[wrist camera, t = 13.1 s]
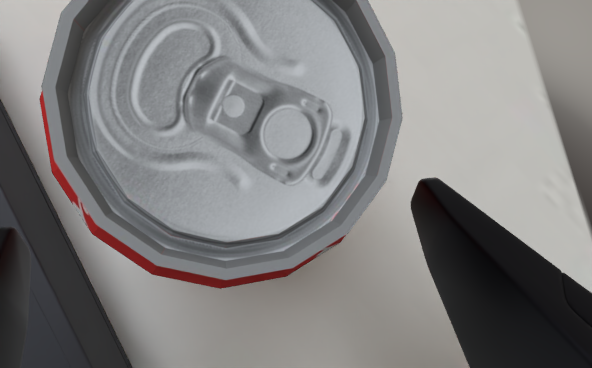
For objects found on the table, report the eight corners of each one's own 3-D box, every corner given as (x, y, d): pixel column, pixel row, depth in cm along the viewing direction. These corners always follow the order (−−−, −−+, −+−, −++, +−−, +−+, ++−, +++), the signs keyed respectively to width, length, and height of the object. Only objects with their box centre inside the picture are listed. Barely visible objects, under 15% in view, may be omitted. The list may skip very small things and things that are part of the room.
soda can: (108, 178, 17) (-96, 208, 6) (180, 36, 18) (125, -216, 6) (252, 243, 19) (331, 379, 7) (317, 109, 19) (498, 20, 7)
